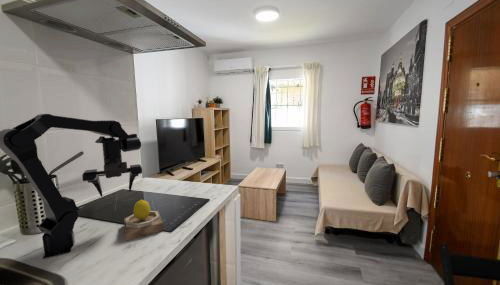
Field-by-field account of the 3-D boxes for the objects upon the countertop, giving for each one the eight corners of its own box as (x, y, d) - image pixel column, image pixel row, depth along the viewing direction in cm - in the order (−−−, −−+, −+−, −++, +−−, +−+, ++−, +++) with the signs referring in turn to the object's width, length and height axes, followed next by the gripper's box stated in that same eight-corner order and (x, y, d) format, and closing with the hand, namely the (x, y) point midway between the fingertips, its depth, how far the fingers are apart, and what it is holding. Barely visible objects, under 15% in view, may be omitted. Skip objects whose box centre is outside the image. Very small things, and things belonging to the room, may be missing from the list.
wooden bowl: (125, 240, 73) (124, 228, 72) (124, 225, 83) (124, 214, 83) (163, 230, 79) (162, 219, 78) (158, 217, 89) (157, 207, 89)
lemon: (146, 215, 84) (145, 195, 83) (153, 219, 81) (152, 199, 80) (131, 221, 80) (129, 200, 79) (138, 225, 77) (136, 203, 76)
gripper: (77, 160, 70) (82, 206, 72) (142, 154, 79) (145, 195, 81) (82, 155, 79) (87, 196, 81) (139, 150, 89) (142, 187, 91)
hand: (116, 193), depth 83 cm, fingers open, 9 cm apart
